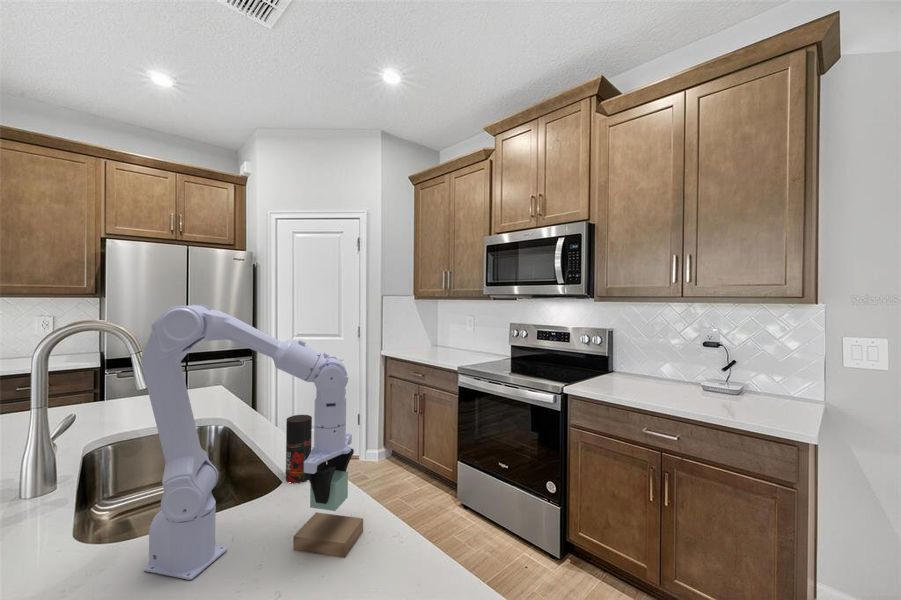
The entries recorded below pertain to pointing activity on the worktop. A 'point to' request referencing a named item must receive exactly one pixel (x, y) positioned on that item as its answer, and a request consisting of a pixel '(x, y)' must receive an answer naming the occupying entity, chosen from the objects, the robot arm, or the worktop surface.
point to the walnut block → (328, 535)
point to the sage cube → (333, 492)
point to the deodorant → (297, 446)
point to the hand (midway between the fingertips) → (329, 494)
